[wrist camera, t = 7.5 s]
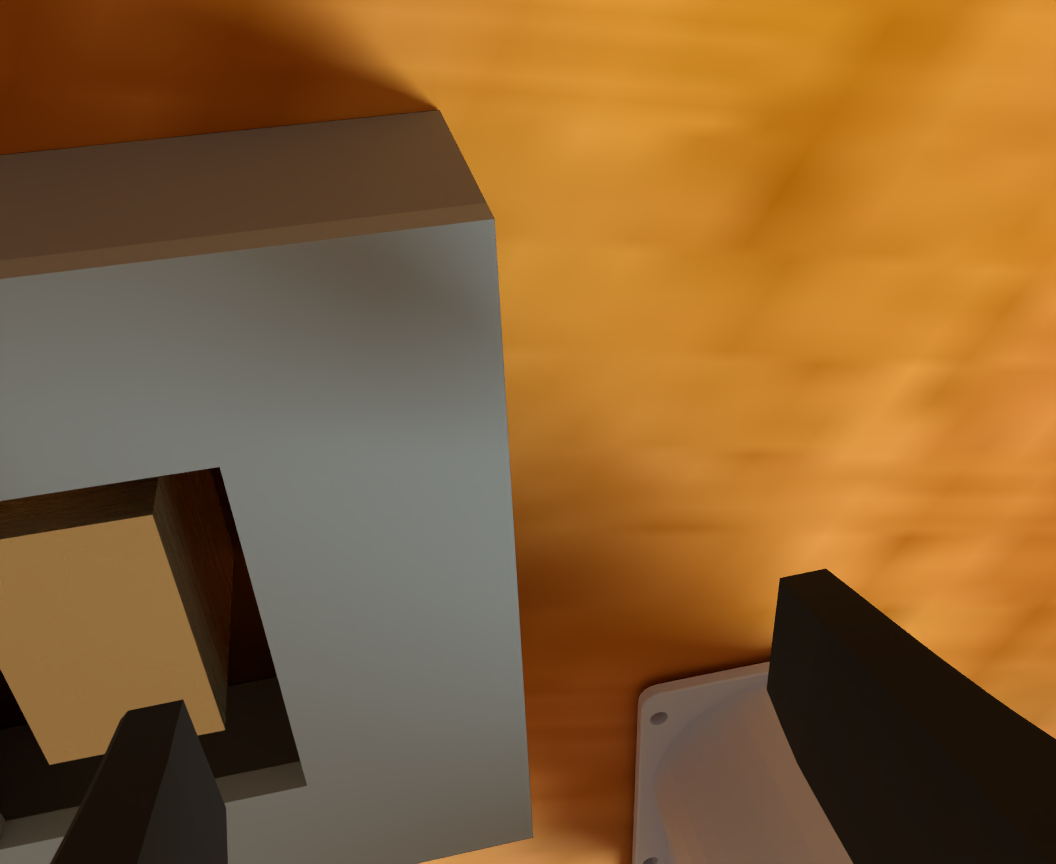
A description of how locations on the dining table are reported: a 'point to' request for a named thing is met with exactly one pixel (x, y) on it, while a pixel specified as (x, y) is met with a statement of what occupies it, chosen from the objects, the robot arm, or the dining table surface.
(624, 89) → the dining table surface
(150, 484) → the wooden block
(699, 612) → the dining table surface
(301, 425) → the money box
